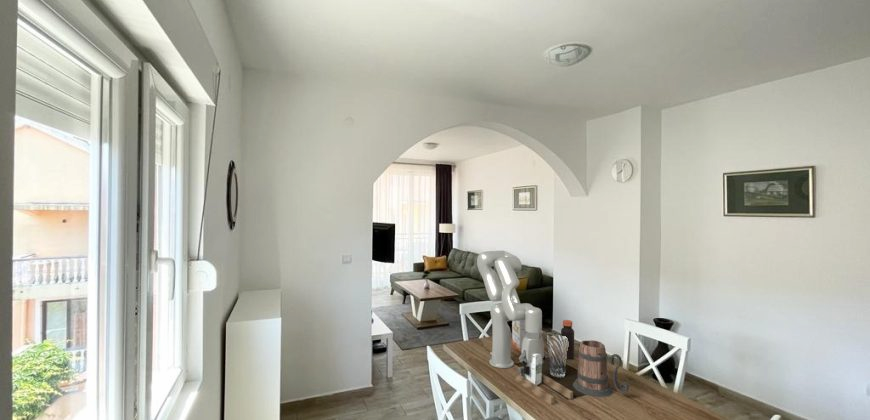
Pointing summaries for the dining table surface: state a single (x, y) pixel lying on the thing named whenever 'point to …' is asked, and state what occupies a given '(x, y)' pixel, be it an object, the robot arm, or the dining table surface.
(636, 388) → the dining table surface
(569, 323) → the bottle
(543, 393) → the channel
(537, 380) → the syrup box
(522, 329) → the cracker box
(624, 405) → the dining table surface
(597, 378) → the tankard
